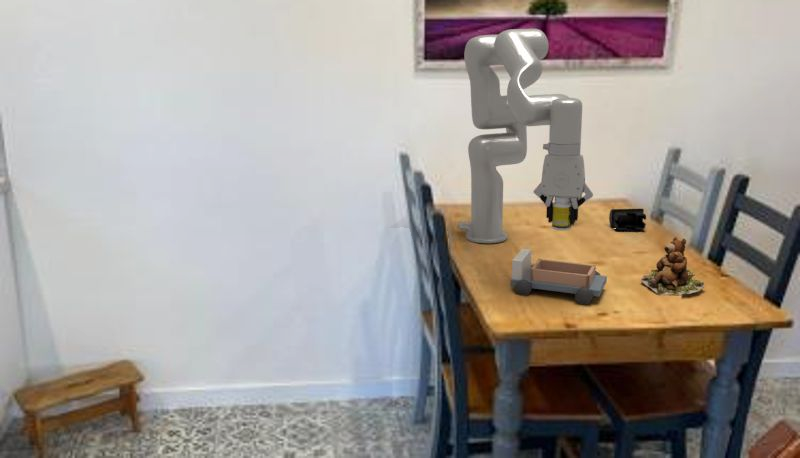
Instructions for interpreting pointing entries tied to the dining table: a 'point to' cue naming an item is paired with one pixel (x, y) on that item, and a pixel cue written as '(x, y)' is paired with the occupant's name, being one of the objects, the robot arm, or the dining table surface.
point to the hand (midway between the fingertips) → (561, 221)
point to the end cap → (627, 220)
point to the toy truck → (556, 277)
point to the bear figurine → (673, 273)
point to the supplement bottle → (561, 213)
